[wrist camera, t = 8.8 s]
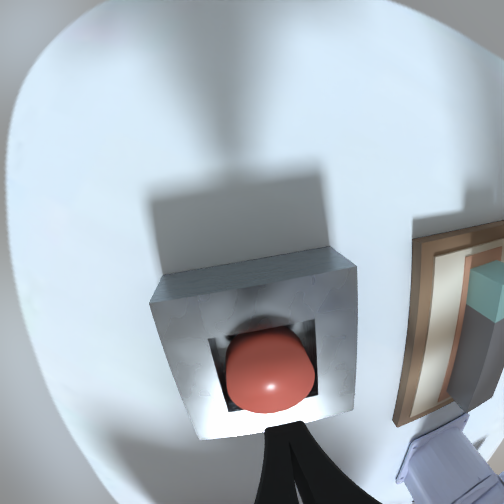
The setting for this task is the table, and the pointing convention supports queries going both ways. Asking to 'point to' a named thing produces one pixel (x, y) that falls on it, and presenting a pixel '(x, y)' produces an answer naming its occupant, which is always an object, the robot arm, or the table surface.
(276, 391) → the button
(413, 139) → the table surface
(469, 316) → the marker
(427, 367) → the wooden picture frame
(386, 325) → the table surface
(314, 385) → the button housing
